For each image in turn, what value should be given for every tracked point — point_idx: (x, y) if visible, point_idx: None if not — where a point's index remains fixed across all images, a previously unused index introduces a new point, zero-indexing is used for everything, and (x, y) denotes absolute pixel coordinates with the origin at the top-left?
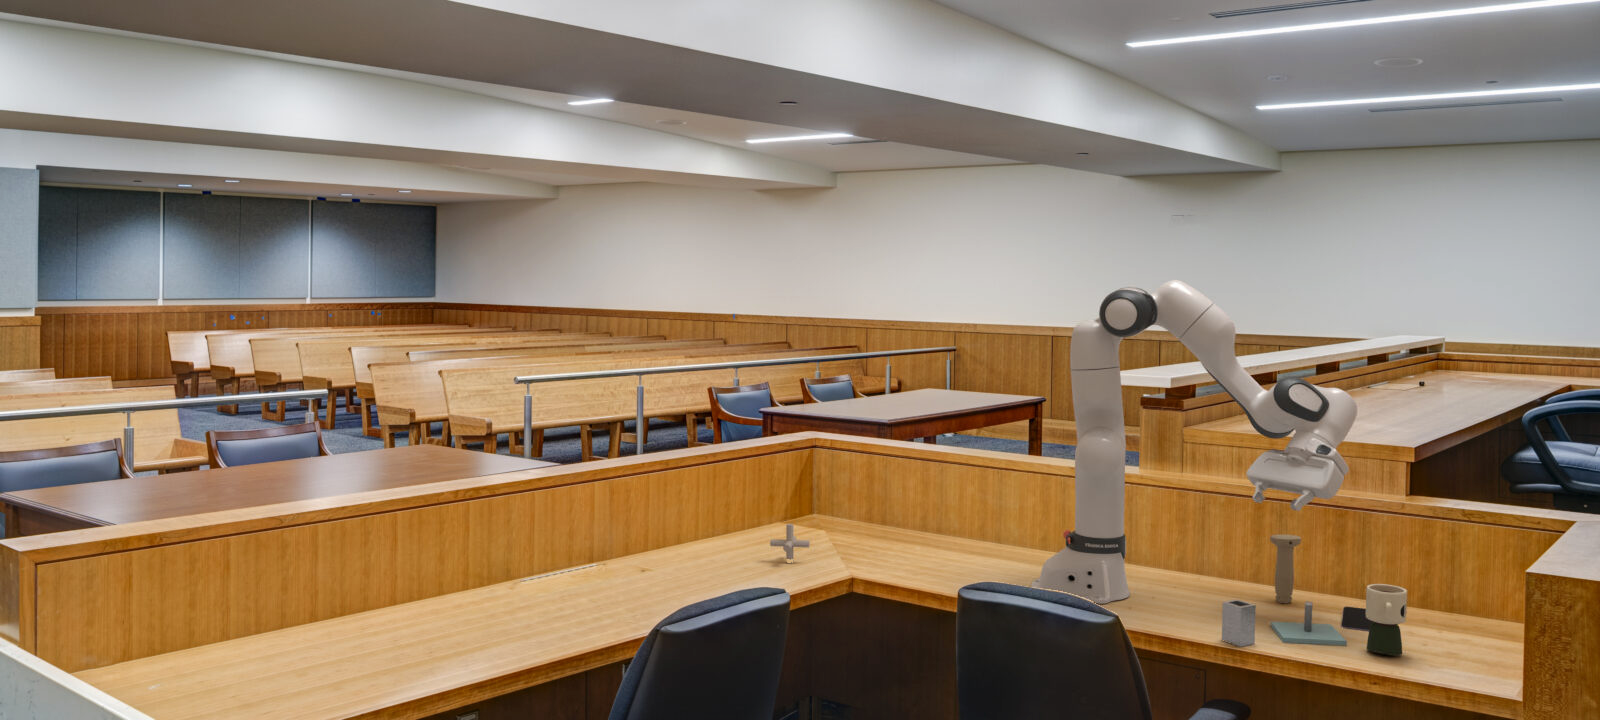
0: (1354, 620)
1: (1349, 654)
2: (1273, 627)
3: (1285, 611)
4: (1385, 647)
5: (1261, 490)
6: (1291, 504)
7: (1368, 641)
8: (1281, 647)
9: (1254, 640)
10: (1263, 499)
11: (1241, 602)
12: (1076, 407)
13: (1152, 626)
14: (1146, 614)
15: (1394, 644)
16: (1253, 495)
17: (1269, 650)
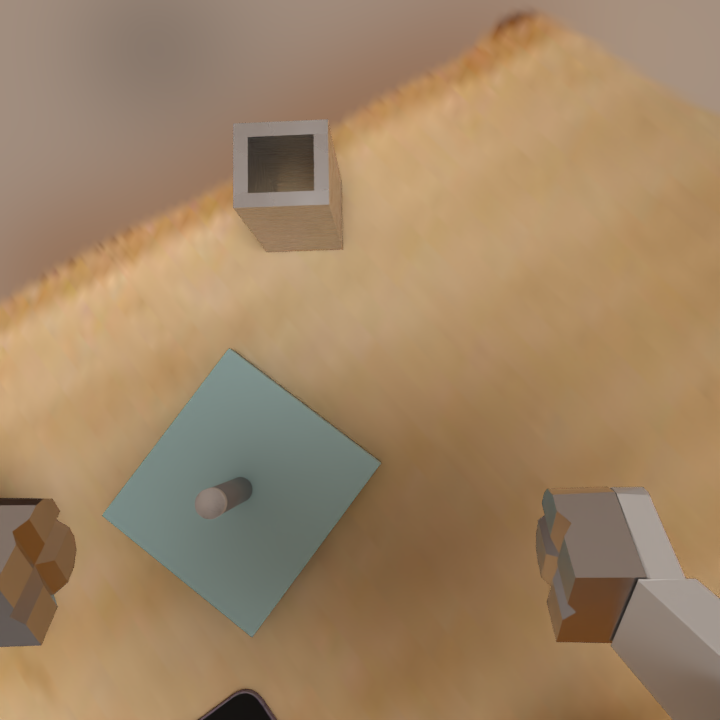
0: None
1: (51, 445)
2: (347, 437)
3: (491, 674)
4: None
5: (699, 717)
6: (15, 501)
7: None
8: (202, 304)
9: (264, 248)
10: (549, 597)
11: (294, 192)
12: None
13: (564, 86)
14: (688, 165)
15: None
16: (648, 504)
17: (200, 245)
